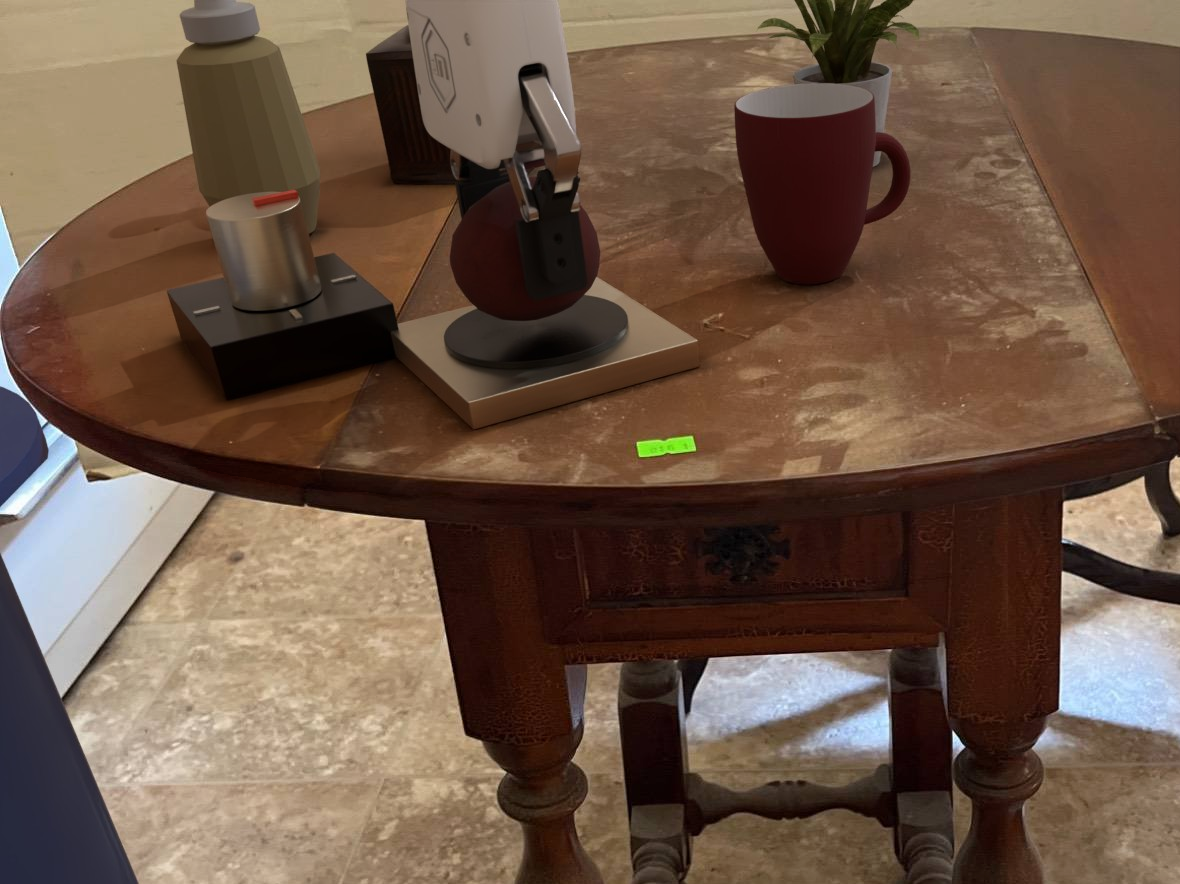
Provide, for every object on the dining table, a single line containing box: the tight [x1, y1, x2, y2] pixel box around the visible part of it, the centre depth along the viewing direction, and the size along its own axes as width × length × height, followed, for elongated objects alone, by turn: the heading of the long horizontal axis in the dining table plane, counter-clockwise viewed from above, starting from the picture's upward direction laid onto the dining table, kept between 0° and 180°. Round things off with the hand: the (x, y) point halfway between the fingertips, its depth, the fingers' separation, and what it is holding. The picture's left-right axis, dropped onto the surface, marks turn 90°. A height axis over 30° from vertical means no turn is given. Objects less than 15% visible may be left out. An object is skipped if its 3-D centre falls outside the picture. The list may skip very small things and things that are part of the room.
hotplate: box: [391, 276, 701, 430], centre depth 80 cm, size 13×13×2 cm
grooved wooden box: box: [365, 24, 543, 185], centre depth 109 cm, size 16×11×18 cm
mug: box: [733, 83, 911, 285], centre depth 87 cm, size 11×8×10 cm
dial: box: [205, 190, 321, 311], centre depth 81 cm, size 5×5×5 cm
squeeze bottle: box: [176, 0, 322, 235], centre depth 97 cm, size 8×8×18 cm
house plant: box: [756, 0, 921, 168], centre depth 103 cm, size 14×14×16 cm
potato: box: [449, 175, 601, 321], centre depth 77 cm, size 7×8×7 cm
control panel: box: [166, 252, 399, 401], centre depth 84 cm, size 10×11×3 cm
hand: (526, 269), depth 78 cm, fingers closed on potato, 7 cm apart
